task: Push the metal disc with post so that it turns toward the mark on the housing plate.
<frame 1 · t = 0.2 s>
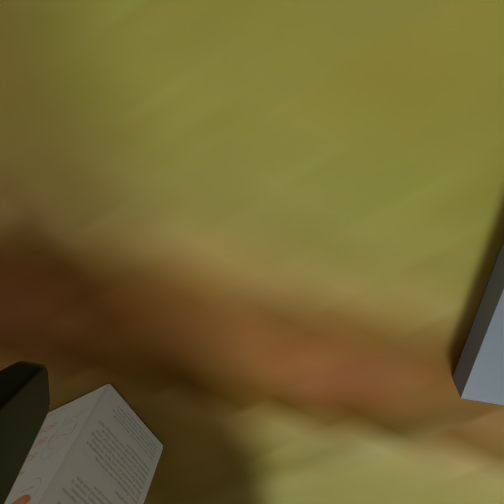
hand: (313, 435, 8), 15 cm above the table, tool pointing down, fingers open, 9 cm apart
small box: (91, 433, 29), on the table
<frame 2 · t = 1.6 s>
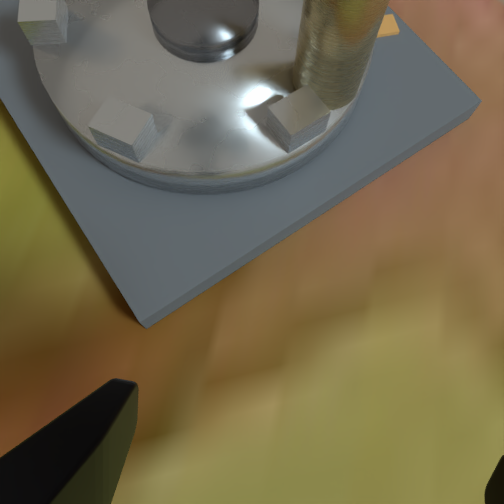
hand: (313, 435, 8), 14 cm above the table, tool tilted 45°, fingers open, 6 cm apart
housing plate: (210, 76, 26), on the table
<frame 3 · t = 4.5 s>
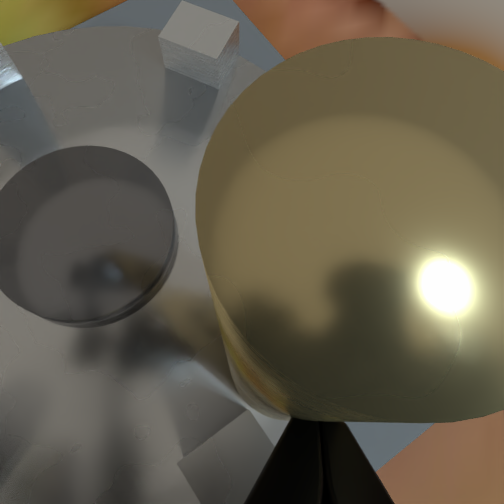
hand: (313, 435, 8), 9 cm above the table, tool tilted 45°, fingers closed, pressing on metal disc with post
housing plate: (124, 280, 18), on the table
metal disc with post: (39, 179, 10), point 8 cm above the table, hinge at 0.6°, touching gripper
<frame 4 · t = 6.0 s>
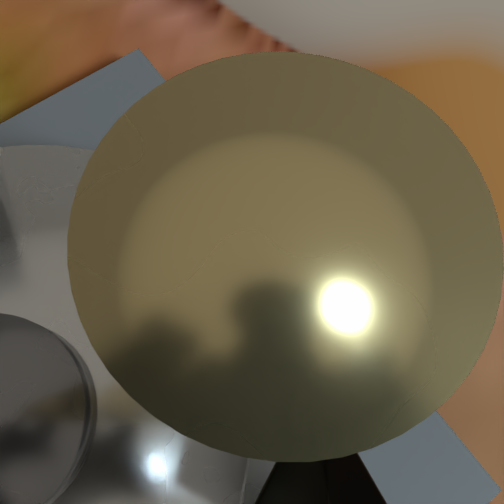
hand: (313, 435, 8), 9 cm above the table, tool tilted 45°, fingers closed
housing plate: (54, 419, 16), on the table
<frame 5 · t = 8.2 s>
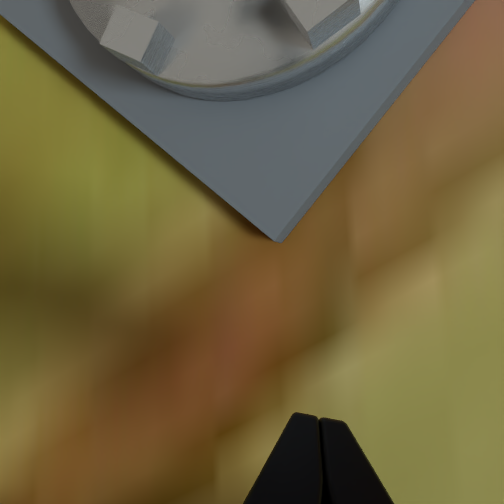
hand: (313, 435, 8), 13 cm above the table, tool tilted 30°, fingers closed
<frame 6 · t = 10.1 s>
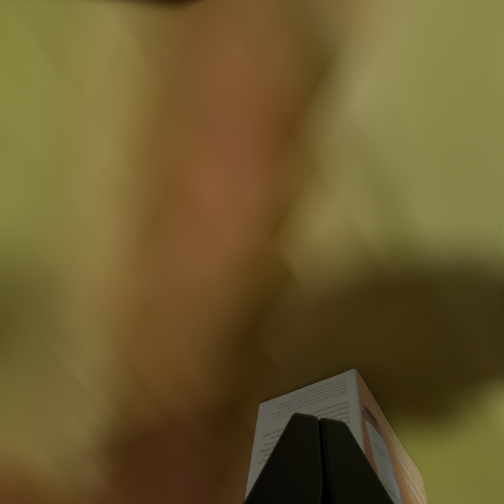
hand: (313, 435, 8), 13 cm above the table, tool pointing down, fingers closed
small box: (340, 434, 25), on the table
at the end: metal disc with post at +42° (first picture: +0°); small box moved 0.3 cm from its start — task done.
